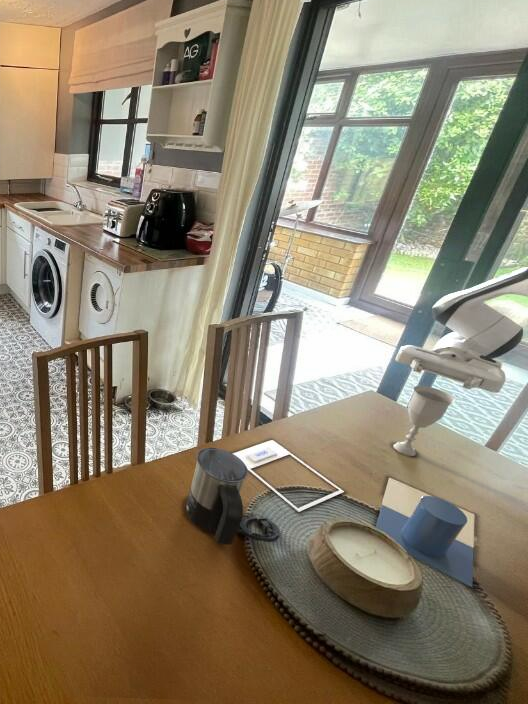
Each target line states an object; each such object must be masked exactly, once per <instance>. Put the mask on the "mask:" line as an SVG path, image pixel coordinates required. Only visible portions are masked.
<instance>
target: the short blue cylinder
mask: <svg viewBox="0 0 528 704" xmlns="http://www.w3.org/2000/svg"><path fill="white" fill-rule="evenodd" d="M457 507H458V506H456V505H455V504H453V503H451V502H449V501H448V500H445V499H443V498H440V497H437V496H433V495H431V496H424V497H422V498H421V499H420V501H419V502H418V504H417V506H416V507H415V509H414V511H413V512H412V514H411V516H410V518H409V519H408V521H407V523H406V524H405V526H404V528H403V529H402V536H403V538H404V539H405V541H406V542H407V543H408V544H409V545H411V546H412V547H413V548H415V549H416V550H418V551H420V552H421V553H424V554H426V555H429V556H432V557H442V556H444V555H445V554H446V552H447V551H448V549H449V548H450V546H451V545H452V543H453V542H454V540H456V537H457V536H458V535H459V533H460V532H461V530H462V529H463V527H464V526H465V524H466V523H467V517H466V515H465V514H464V513H463V512H462V511H461V510H460V509H459V508H460V507H458V508H457Z"/></svg>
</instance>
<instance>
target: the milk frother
mask: <svg viewBox="0 0 528 704" xmlns="http://www.w3.org/2000/svg"><path fill="white" fill-rule="evenodd" d="M248 475H249V470H248V469H247V467H246V465H245V464H244V462H243V461H242V460H241V459H239V458H238V457H237V456H235V455H234V454H233V452H230V451H227V450H226V449H221V448H217V447H207V448H203V449H201V450H199V451H198V453H197V454H196V465H195V468H194V473H193V476H192V477H193V478H192V482H191V486H190V490H189V494H188V498H187V501H186V504H185V511H186V514H187V516H188V518H189V519H190V520H191V522H193V523H194V525H196V526H197V527H199V528H200V529H202V530H205V531H207V532H210V533H215V536H214V540H215V541H216V543H217V544H218V545H219V544H220V545H226V546H229V545H232V544H233V541H234V540H235V538H236V535H237V534H239V535H242V536H244V537H246V538H249V539H251V540H255V541H257V542H258V541H259V542H263V543H264V542H265V543H273V542H275V541H277V540H279V538H280V536H281V530H280V528H279V526H278V525H277V524H275V523H274V522H273V521H271V520H270V519H268V518H267V517H263V516H262V517H261V516H260V515H250V516H249V515H248V516H245V517H244V505H243V503H244V502H243V499H242V496H241V491H242V487H243V484H244V482H245V480H246V479H247V478H248ZM253 521H256V522H257V523H256V526H257V527H259V528H260V529H261V531H262V532H263V533H264V534H259V533H256V532H253V531H252V530H250V529H249V528H248V527H247V525H248V524H249V523H250V522H253Z"/></svg>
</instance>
